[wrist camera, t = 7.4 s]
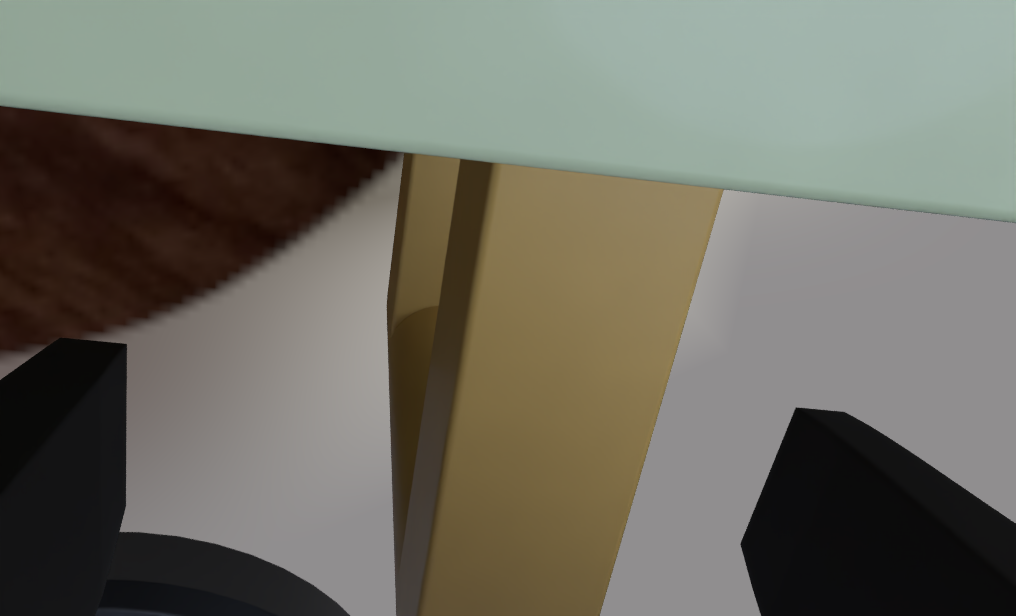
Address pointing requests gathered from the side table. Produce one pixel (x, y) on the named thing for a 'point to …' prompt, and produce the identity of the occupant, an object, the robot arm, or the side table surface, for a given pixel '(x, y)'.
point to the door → (551, 207)
